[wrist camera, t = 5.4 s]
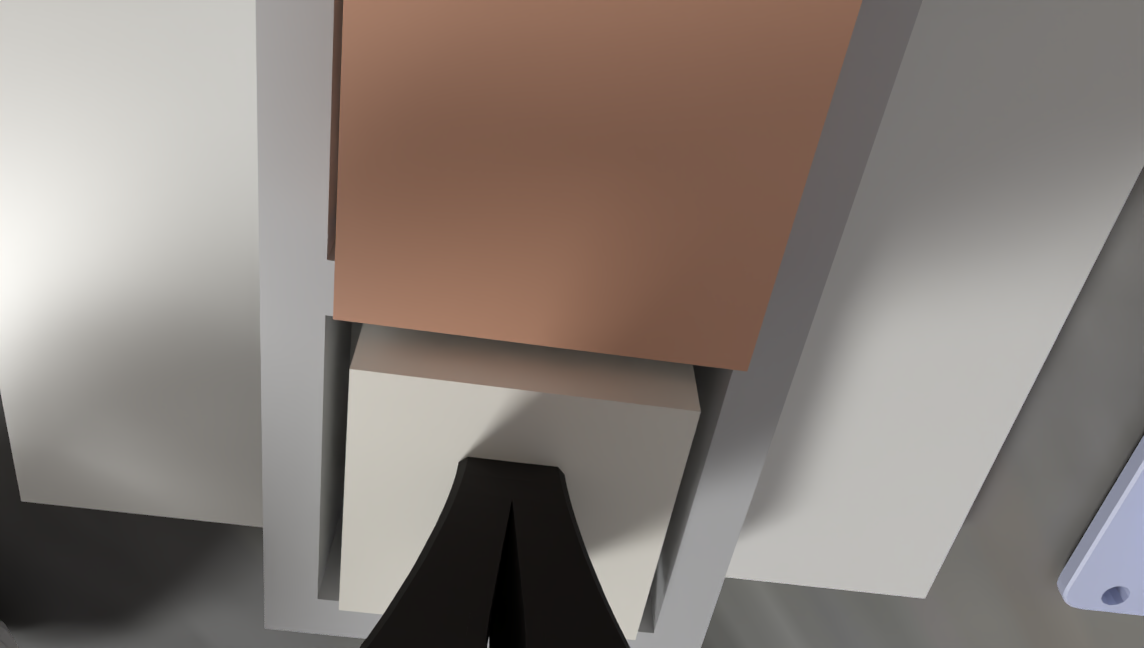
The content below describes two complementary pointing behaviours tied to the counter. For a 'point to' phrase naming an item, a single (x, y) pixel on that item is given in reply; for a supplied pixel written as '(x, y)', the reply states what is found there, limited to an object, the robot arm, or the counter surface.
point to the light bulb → (6, 637)
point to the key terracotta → (579, 167)
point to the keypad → (727, 397)
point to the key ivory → (509, 450)
